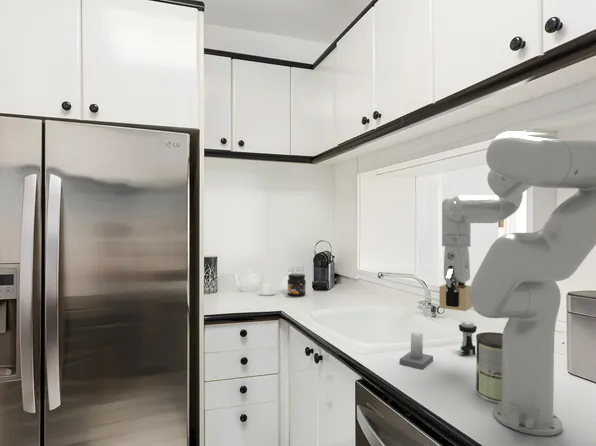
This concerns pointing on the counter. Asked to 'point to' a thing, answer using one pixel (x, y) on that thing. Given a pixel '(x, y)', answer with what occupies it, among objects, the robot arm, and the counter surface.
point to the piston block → (416, 353)
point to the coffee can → (489, 366)
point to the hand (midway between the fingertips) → (456, 303)
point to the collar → (463, 298)
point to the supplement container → (296, 285)
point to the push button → (467, 338)
